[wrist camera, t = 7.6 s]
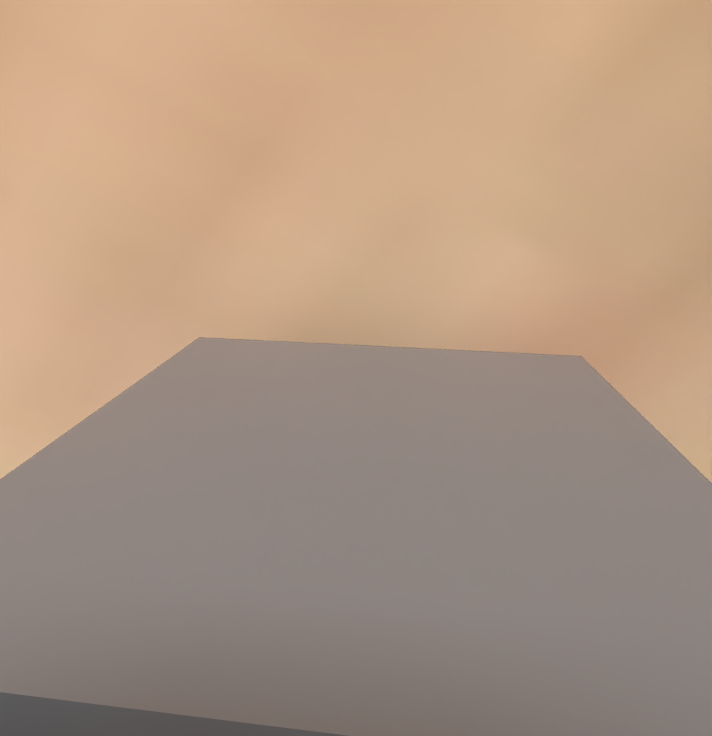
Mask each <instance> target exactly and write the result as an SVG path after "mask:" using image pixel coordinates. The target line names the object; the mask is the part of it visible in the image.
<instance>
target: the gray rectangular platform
mask: <svg viewBox="0 0 712 736" xmlns="http://www.w3.org/2000/svg"><path fill="white" fill-rule="evenodd" d="M0 736H712V483H711V482H710V481H709V480H708V479H707V478H706V477H705V476H704V475H703V474H702V473H700V472H699V471H698V470H697V469H696V468H695V467H694V466H693V465H692V464H691V463H690V462H689V461H688V460H687V459H686V458H685V457H684V456H683V455H682V454H681V453H680V452H679V451H678V450H677V449H676V448H675V447H674V446H673V445H672V444H671V443H670V442H669V441H668V440H667V439H666V438H665V437H664V436H663V435H662V434H661V433H660V432H658V431H657V430H656V429H655V428H654V427H653V426H652V425H651V424H650V423H649V422H648V421H647V420H646V419H645V418H644V417H643V416H642V415H641V414H640V413H639V412H638V411H637V410H636V409H635V408H634V407H633V406H632V405H631V404H630V403H629V402H628V401H627V400H626V399H625V398H624V397H623V396H622V395H621V394H620V393H619V392H618V391H616V390H615V389H614V388H613V387H612V386H611V385H610V384H609V383H608V382H607V381H606V380H605V379H604V378H603V377H602V376H601V375H600V374H599V373H598V372H597V371H596V370H595V369H594V368H593V367H592V366H591V365H590V364H589V363H588V362H587V361H586V360H585V359H584V358H583V357H582V356H568V355H548V354H528V353H507V352H487V351H467V350H446V349H426V348H406V347H385V346H365V345H345V344H325V343H304V342H284V341H264V340H243V339H223V338H203V337H199V338H198V339H197V340H195V341H194V342H192V343H191V344H190V345H188V346H187V347H185V348H184V349H183V350H181V351H180V352H178V353H177V354H176V355H174V356H173V357H171V358H170V359H169V360H167V361H166V362H164V363H163V364H162V365H160V366H159V367H157V368H156V369H155V370H153V371H152V372H150V373H149V374H147V375H146V376H145V377H143V378H142V379H140V380H139V381H138V382H136V383H135V384H133V385H132V386H131V387H129V388H128V389H126V390H125V391H124V392H122V393H121V394H119V395H118V396H117V397H115V398H114V399H112V400H111V401H110V402H108V403H107V404H105V405H104V406H103V407H101V408H100V409H98V410H97V411H96V412H94V413H93V414H91V415H90V416H89V417H87V418H86V419H84V420H83V421H82V422H80V423H79V424H77V425H76V426H75V427H73V428H72V429H70V430H69V431H68V432H66V433H65V434H63V435H62V436H60V437H59V438H58V439H56V440H55V441H53V442H52V443H51V444H49V445H48V446H46V447H45V448H44V449H42V450H41V451H39V452H38V453H37V454H35V455H34V456H32V457H31V458H30V459H28V460H27V461H25V462H24V463H23V464H21V465H20V466H18V467H17V468H16V469H14V470H13V471H11V472H10V473H9V474H7V475H6V476H4V477H3V478H2V479H0Z"/></svg>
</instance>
